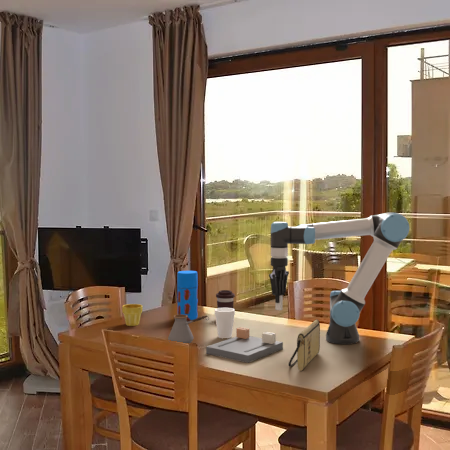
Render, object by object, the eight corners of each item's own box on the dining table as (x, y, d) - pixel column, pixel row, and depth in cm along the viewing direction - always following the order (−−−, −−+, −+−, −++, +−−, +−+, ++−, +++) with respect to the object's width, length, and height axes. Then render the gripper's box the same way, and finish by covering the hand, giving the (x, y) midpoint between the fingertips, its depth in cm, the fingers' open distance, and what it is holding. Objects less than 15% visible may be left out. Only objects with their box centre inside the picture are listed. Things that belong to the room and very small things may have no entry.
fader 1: (249, 337, 276) (249, 328, 276) (245, 338, 274) (245, 329, 273) (240, 335, 279) (240, 327, 279) (236, 337, 277) (236, 328, 276)
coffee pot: (162, 344, 277) (162, 311, 276) (179, 339, 286) (179, 307, 285) (199, 352, 264) (199, 318, 263) (216, 346, 273) (215, 313, 272)
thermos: (197, 320, 324) (196, 273, 323) (176, 320, 324) (176, 273, 323) (198, 316, 335) (198, 270, 333) (178, 316, 335) (178, 270, 334)
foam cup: (237, 335, 293) (237, 308, 292) (229, 340, 284) (229, 312, 283) (219, 333, 297) (219, 307, 296) (211, 338, 288) (211, 310, 287)
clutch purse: (304, 351, 265) (305, 317, 264) (320, 353, 263) (321, 318, 262) (285, 371, 238) (285, 333, 237) (302, 373, 235) (303, 335, 234)
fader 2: (275, 342, 267) (275, 333, 267) (271, 344, 265) (271, 334, 265) (266, 340, 270) (266, 331, 270) (262, 342, 268) (262, 332, 268)
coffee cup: (217, 316, 334) (217, 289, 333) (235, 317, 332) (235, 289, 331) (214, 320, 324) (214, 292, 323) (233, 321, 322) (233, 293, 321)
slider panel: (282, 348, 269) (282, 341, 269) (248, 362, 249) (248, 355, 249) (242, 340, 283) (242, 334, 283) (206, 353, 262) (206, 346, 262)
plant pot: (146, 325, 314) (146, 306, 314) (127, 327, 309) (127, 308, 308) (137, 321, 323) (137, 302, 322) (119, 323, 317) (118, 305, 316)
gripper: (280, 254, 279) (279, 306, 280) (263, 257, 268) (263, 311, 270) (294, 256, 274) (293, 308, 276) (278, 259, 264) (277, 313, 266)
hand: (278, 309), depth 273 cm, fingers closed
